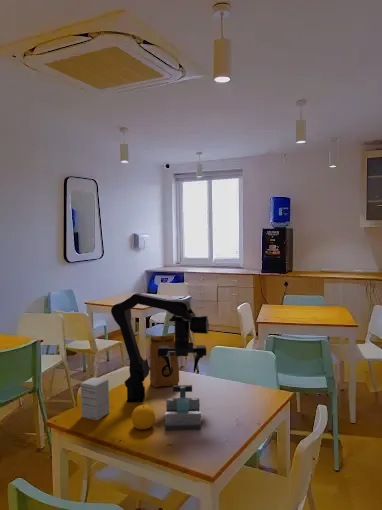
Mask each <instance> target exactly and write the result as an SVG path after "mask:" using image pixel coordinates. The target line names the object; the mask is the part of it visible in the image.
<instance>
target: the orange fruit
mask: <svg viewBox="0 0 382 510" xmlns="http://www.w3.org/2000/svg"><path fill="white" fill-rule="evenodd" d="M130 417H131V422H132V425H133V426H134V427H135V428H136V429H138V430H147V429H150V428H151V427H152V426H154V423H155V422H156V421H155V420H156V414H155V411H154V409H153V408H152V407H151V406H150V405H148V404H141V405H138V406H136V407H135V408H134V410H133V411H132V412H131V416H130Z"/></svg>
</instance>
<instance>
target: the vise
mask: <svg viewBox="0 0 382 510" xmlns="http://www.w3.org/2000/svg"><path fill="white" fill-rule="evenodd" d="M201 412H202V411H201V410H200V408H199V409H191V410H189V411H185V412H177V410H167V409H166V410H165V412H164V416H165V417H164V430H165V431H186V430H189V431H192V430H194V431H195V430H199V431H200V430H202V413H201Z"/></svg>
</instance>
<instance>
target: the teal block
mask: <svg viewBox="0 0 382 510" xmlns="http://www.w3.org/2000/svg"><path fill="white" fill-rule="evenodd" d="M176 398H177V412H185V411H189V402H188V398H189V397H186V398H180V397H176Z"/></svg>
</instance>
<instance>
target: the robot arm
mask: <svg viewBox="0 0 382 510" xmlns="http://www.w3.org/2000/svg"><path fill="white" fill-rule="evenodd" d="M137 305H141V306H145V307H150V308H154V309H159V310H164V311H166V312H168V313H170V314H171V315H172V316H171V318H169V322H174V341H175V344H174V348H169V346H159V348H158V356H161V358H164V359H165V361H166V363H167V365H168V368H169V371H170V373H171V362H170V354H169V353H175V355H176V356H177V357H178V358H179V357H188V356H189V354H195V355H194V361H193V362H194V363H193V373H194V374H195V372H196V370H197V366H198V363H199V362H200V360H201V359H203V358H204V356H205V357H206V356H207V346H206V345H205V344H202V345H200V344H199V345H196V346H195V347H194V342H190V332H192V334H202V335H204V334H205V335H207V334H209V329H210V323H209V319H208V315H196V313H195V312H194V311H193V309H192V308H191V304H190V302H189V301H188V300H187V299H167V298H162V297H156V296H153V295H147V294H142V293H140V292H137V293H133V294H132V295H131V296H130V297H128V298H127V299H125V300H124V301H121V302H119V303H116V304H114V305H113V306H112V307H111V308H110V309H111V310H110V313H111V316H112V318H113V320H114V321H115V322H116V324H117V325H118V327H119V329H120V331H121V336H122V339H123V342H124V345H125V346H124V347H125V350H126V352H127V356H128V360H129V368H128V370H129V371H128V372H129V377H128V378H127V379H125V381H124V385H125V387H126V403H142V402H144V399H145V398H146V387H145V385H144V381H145V380H146V378H147V377H148V376H149V375H150V365H149V363H148V361H149V360H148V359H144V358H143V357H142V355H141V352H140V349H139V346H138V342H137V339H136V336H135V332H134V330H133V326H132V309H134V308H135V307H136V306H137Z"/></svg>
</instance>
